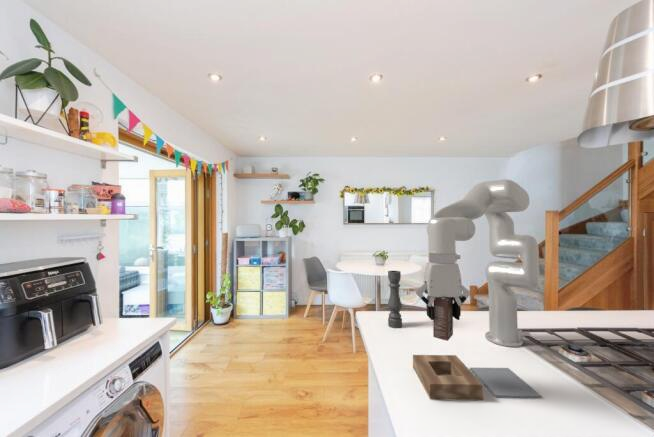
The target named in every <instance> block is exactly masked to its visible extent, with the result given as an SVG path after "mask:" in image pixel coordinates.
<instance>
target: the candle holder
mask: <svg viewBox="0 0 654 437" xmlns="http://www.w3.org/2000/svg"><path fill="white" fill-rule="evenodd" d="M401 275H402V274H401V271H399V270H388V271H387V279H388V281H389V284H388V287H389V291H390V295H389V298H388V304H387V308H388V309H389V313H388V317H387V325H388V327H389V328H393V329H401V328H402V327H403V318H402V314H401V313H400V312H401V309H402V307H403V306H402V302H401V297H400V292H399V291H400V287H401V284H400V281H401Z"/></svg>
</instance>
